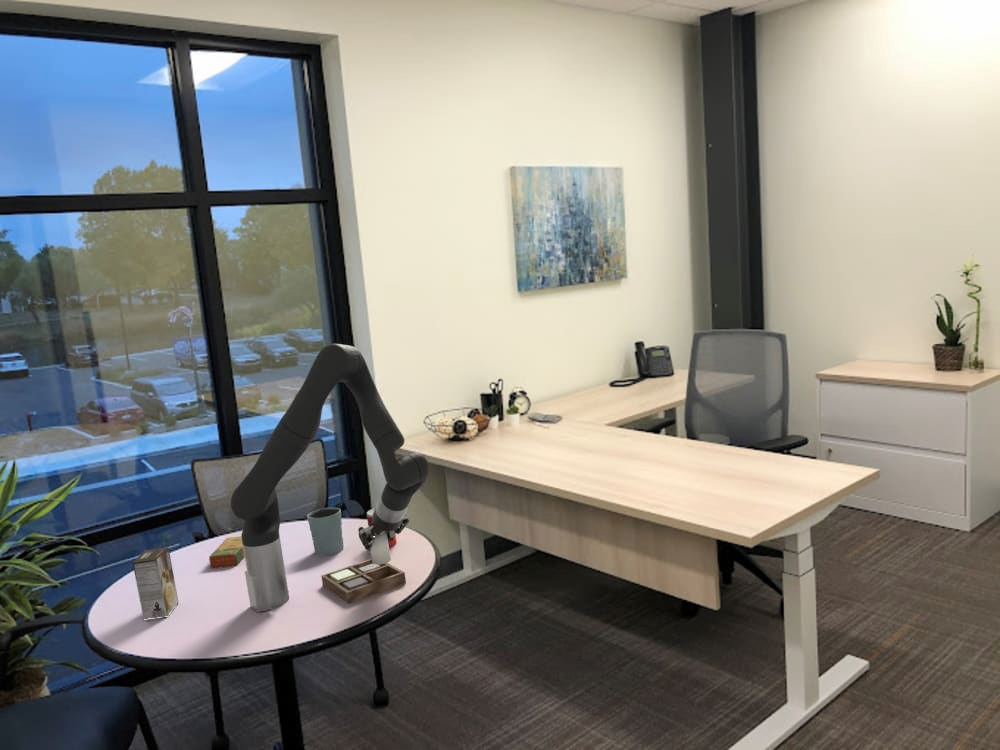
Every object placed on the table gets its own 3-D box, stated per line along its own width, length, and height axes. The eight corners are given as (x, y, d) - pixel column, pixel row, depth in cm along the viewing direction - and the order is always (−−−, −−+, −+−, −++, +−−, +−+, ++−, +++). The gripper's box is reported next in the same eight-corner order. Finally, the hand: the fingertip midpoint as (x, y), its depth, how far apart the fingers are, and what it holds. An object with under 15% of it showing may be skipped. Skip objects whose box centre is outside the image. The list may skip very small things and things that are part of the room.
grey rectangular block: (365, 580, 215) (364, 571, 215) (359, 577, 218) (358, 568, 218) (381, 574, 218) (380, 565, 218) (376, 571, 221) (374, 562, 221)
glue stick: (377, 566, 208) (372, 531, 206) (369, 561, 212) (364, 527, 210) (393, 560, 210) (388, 525, 209) (385, 555, 214) (380, 521, 213)
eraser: (351, 598, 204) (349, 587, 204) (344, 594, 208) (343, 583, 207) (369, 592, 207) (367, 581, 207) (362, 588, 211) (360, 577, 210)
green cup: (319, 559, 237) (313, 520, 235) (307, 550, 246) (302, 513, 244) (351, 549, 242) (345, 511, 240) (339, 541, 251) (333, 504, 249)
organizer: (349, 605, 202) (347, 592, 201) (323, 588, 215) (321, 575, 215) (406, 584, 211) (404, 572, 210) (378, 569, 224) (376, 557, 224)
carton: (254, 547, 255) (252, 534, 255) (237, 567, 239) (235, 553, 239) (228, 550, 255) (226, 537, 255) (210, 569, 240) (208, 556, 239)
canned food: (384, 539, 248) (379, 505, 246) (402, 543, 243) (397, 508, 241) (365, 548, 242) (360, 513, 240) (383, 552, 237) (378, 516, 235)
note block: (339, 590, 210) (337, 579, 210) (331, 585, 215) (330, 574, 214) (356, 584, 213) (355, 573, 213) (348, 579, 217) (347, 569, 217)
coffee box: (155, 606, 215) (144, 549, 213) (179, 603, 216) (169, 546, 213) (142, 621, 206) (131, 562, 204) (168, 618, 207) (157, 558, 204)
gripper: (409, 489, 206) (393, 525, 218) (358, 504, 198) (345, 540, 210) (422, 513, 203) (405, 548, 214) (371, 530, 195) (357, 565, 206)
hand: (376, 544), depth 212 cm, fingers closed on glue stick, 4 cm apart
